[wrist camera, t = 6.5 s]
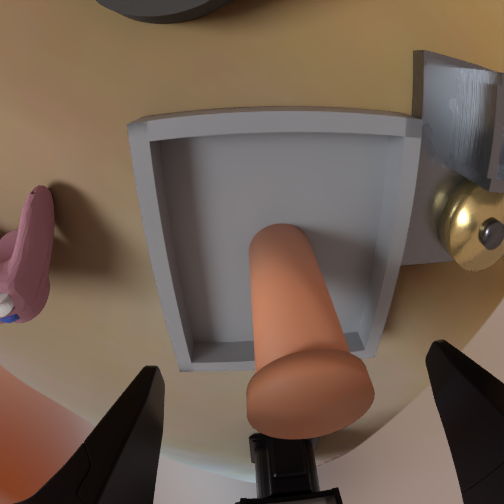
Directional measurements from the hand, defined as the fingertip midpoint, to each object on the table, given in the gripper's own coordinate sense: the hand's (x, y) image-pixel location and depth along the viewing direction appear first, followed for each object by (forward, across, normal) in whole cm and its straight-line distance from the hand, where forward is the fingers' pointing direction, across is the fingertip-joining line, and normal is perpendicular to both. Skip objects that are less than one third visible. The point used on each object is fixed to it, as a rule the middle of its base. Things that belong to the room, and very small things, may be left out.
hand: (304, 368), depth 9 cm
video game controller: (+8, +16, -2) cm, 18 cm away
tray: (+8, 0, 0) cm, 8 cm away
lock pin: (+7, 0, 0) cm, 7 cm away
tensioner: (+8, -11, -4) cm, 14 cm away
